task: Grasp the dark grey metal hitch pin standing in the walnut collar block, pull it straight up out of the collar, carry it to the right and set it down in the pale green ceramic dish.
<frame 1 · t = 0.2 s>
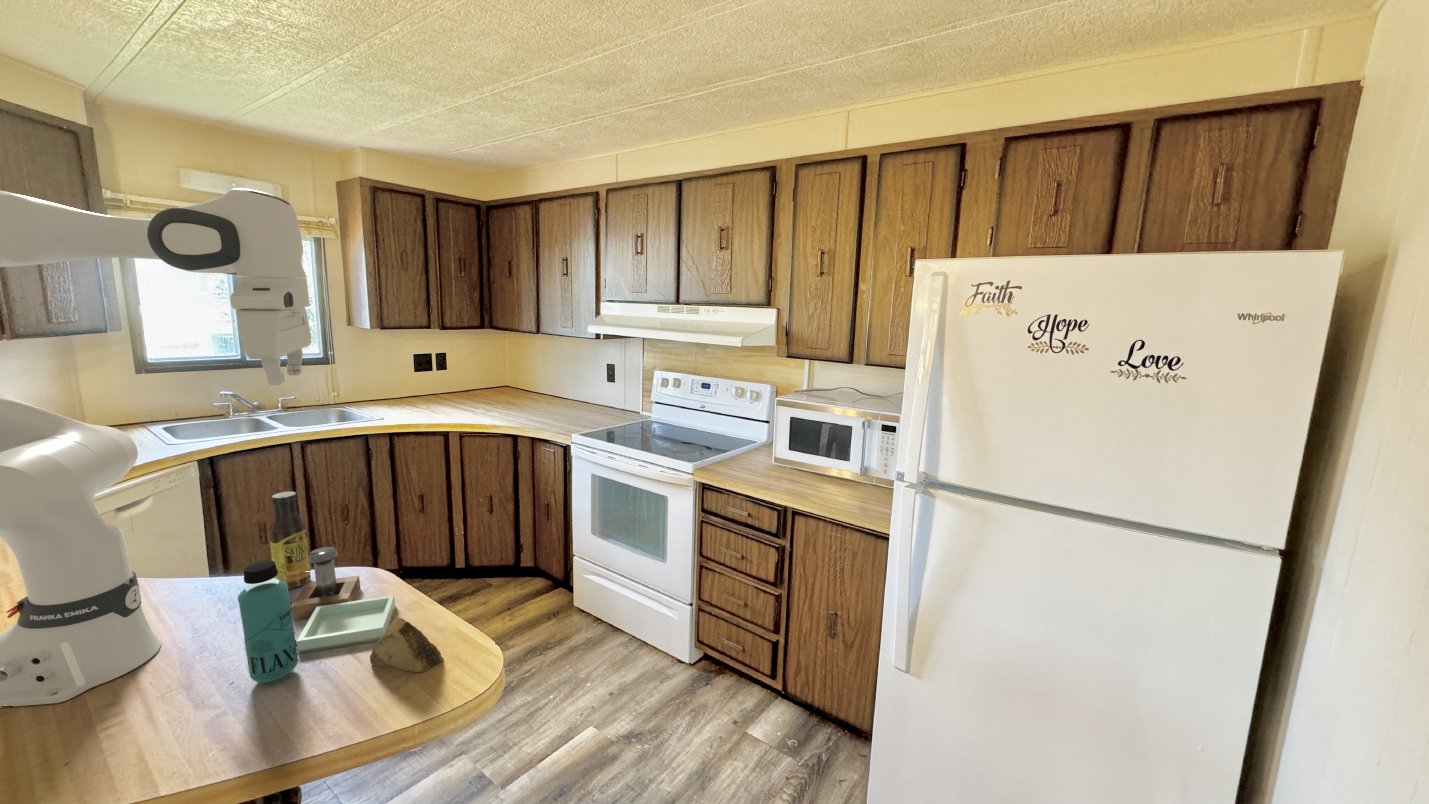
hand: (286, 379, 93), 47 cm above the worktop, fingers open, 8 cm apart
dish: (350, 628, 103), on the worktop
pin: (325, 578, 109), in the collar
collar: (329, 603, 110), on the worktop
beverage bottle: (276, 678, 90), on the worktop
sauce bottle: (294, 583, 117), on the worktop
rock: (405, 664, 94), on the worktop
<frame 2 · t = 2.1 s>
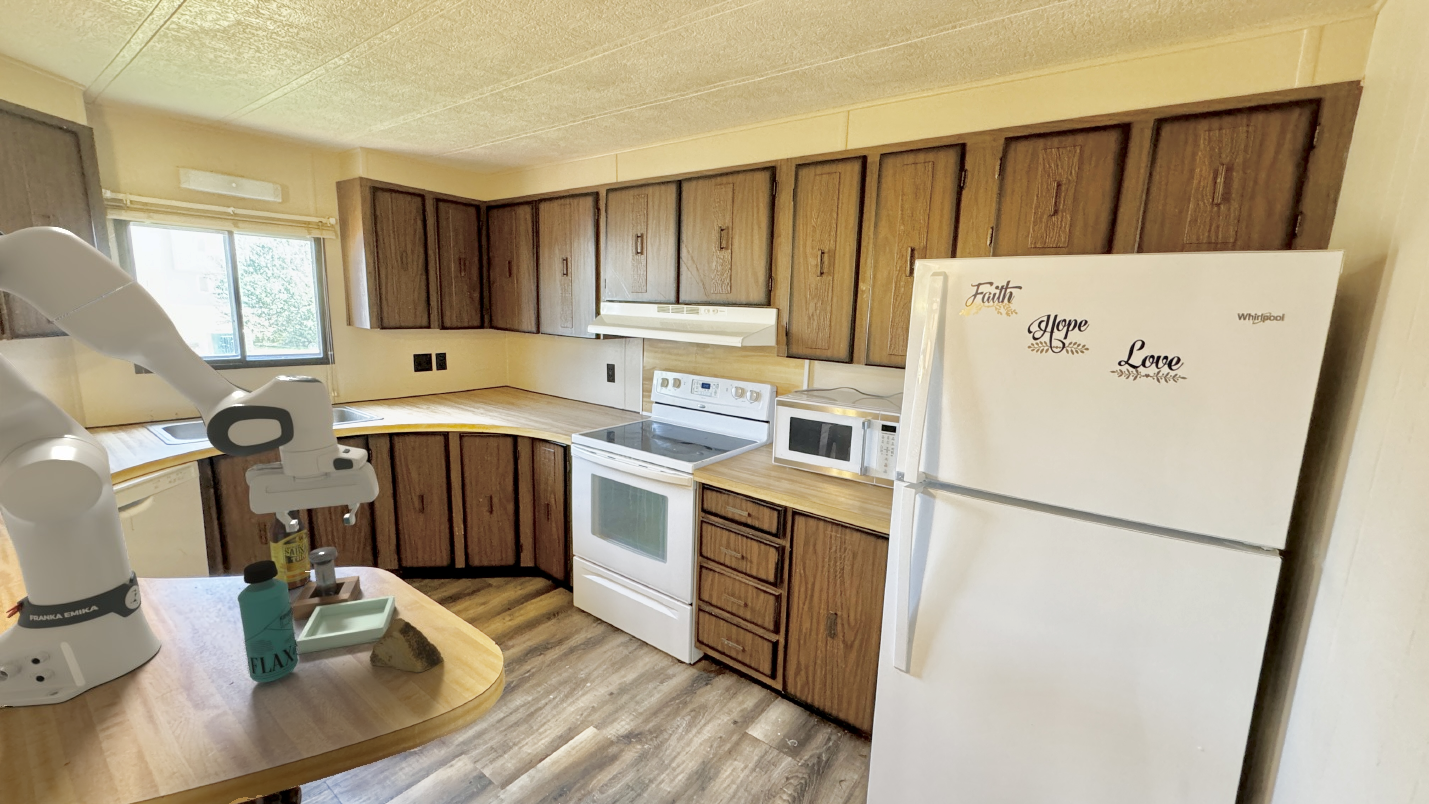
hand: (322, 527, 107), 16 cm above the worktop, fingers open, 8 cm apart
nothing on the worktop moved.
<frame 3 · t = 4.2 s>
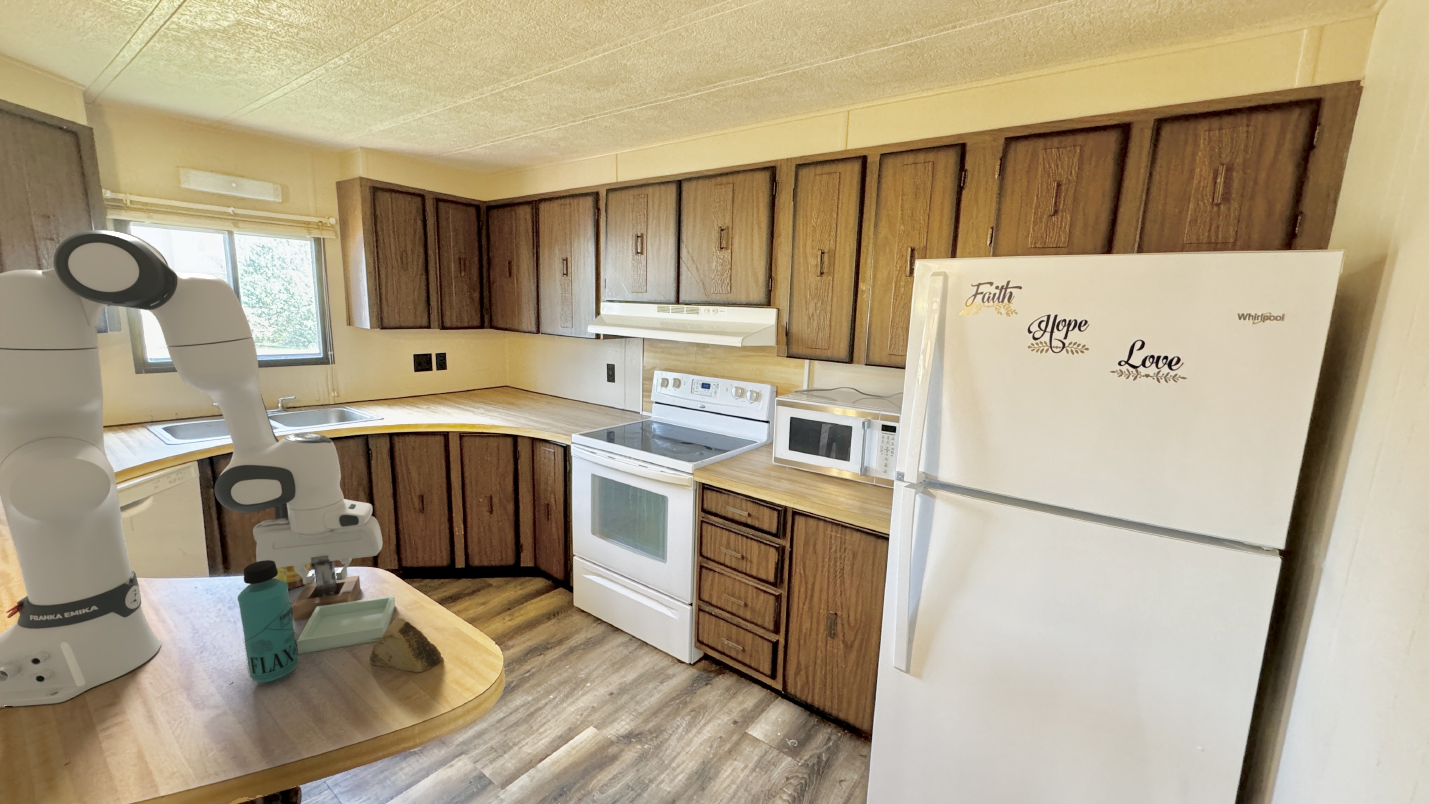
hand: (326, 580, 109), 5 cm above the worktop, fingers closed on pin, 4 cm apart
pin: (325, 578, 109), in the collar, touching gripper
everything else where it was.
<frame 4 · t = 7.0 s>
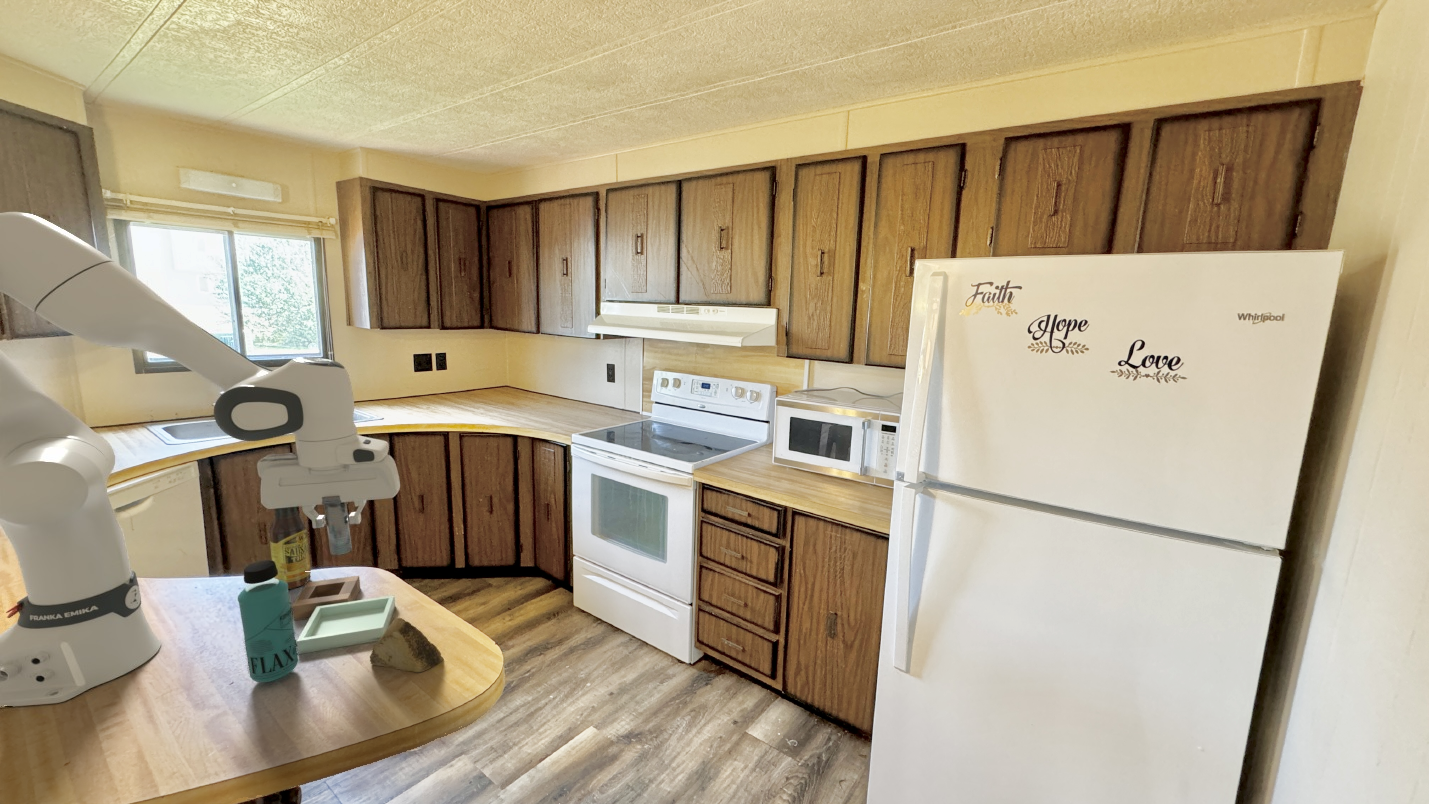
hand: (337, 524, 98), 21 cm above the worktop, fingers closed on pin, 4 cm apart
pin: (337, 521, 98), point 21 cm above the worktop, touching gripper
everything else where it was.
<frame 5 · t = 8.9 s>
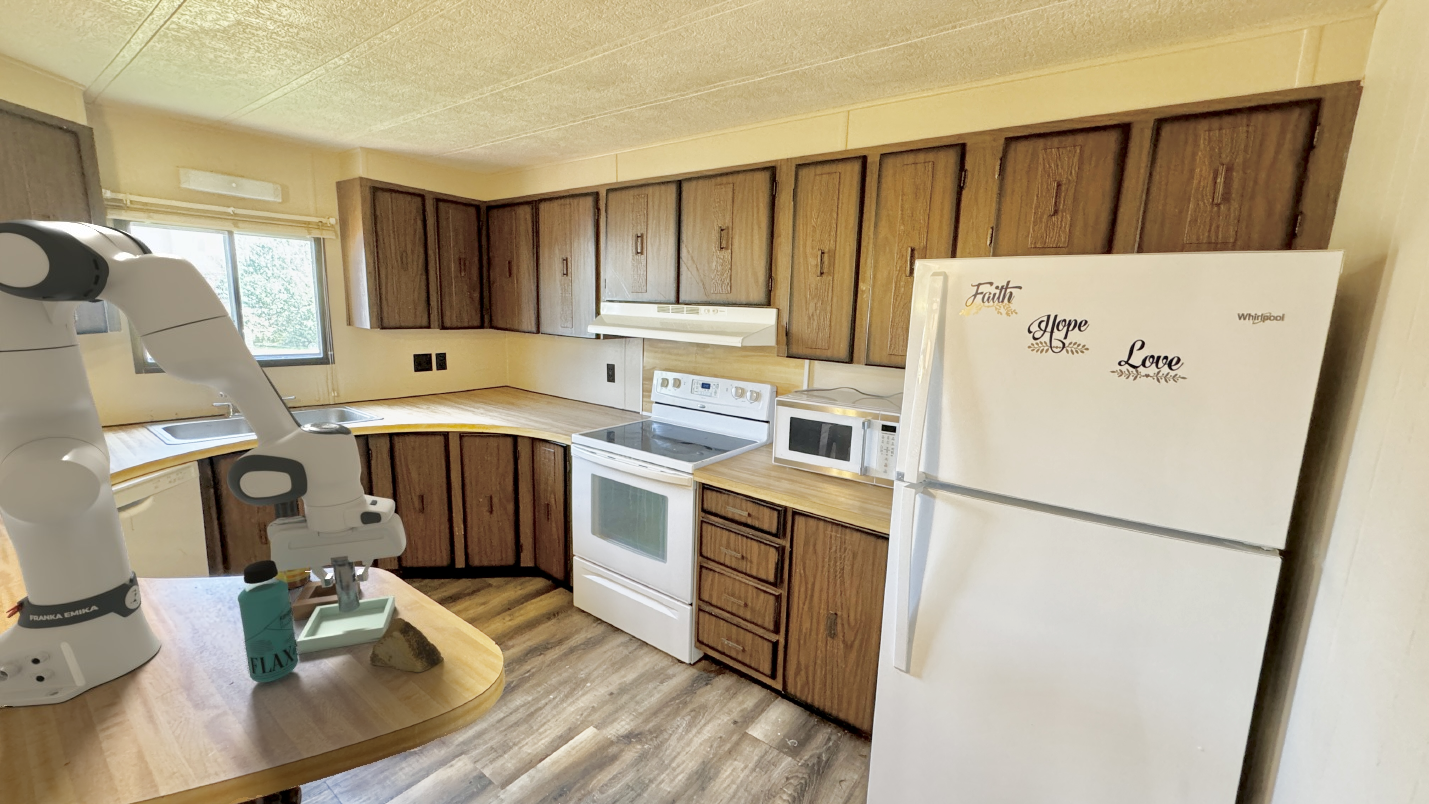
hand: (346, 582, 101), 9 cm above the worktop, fingers closed on pin, 4 cm apart
pin: (345, 580, 101), point 10 cm above the worktop, touching gripper
everything else where it was.
when the fingers open (7 cm above the worktop, at t = 10.1 s): pin drops 1 cm, resting on dish.
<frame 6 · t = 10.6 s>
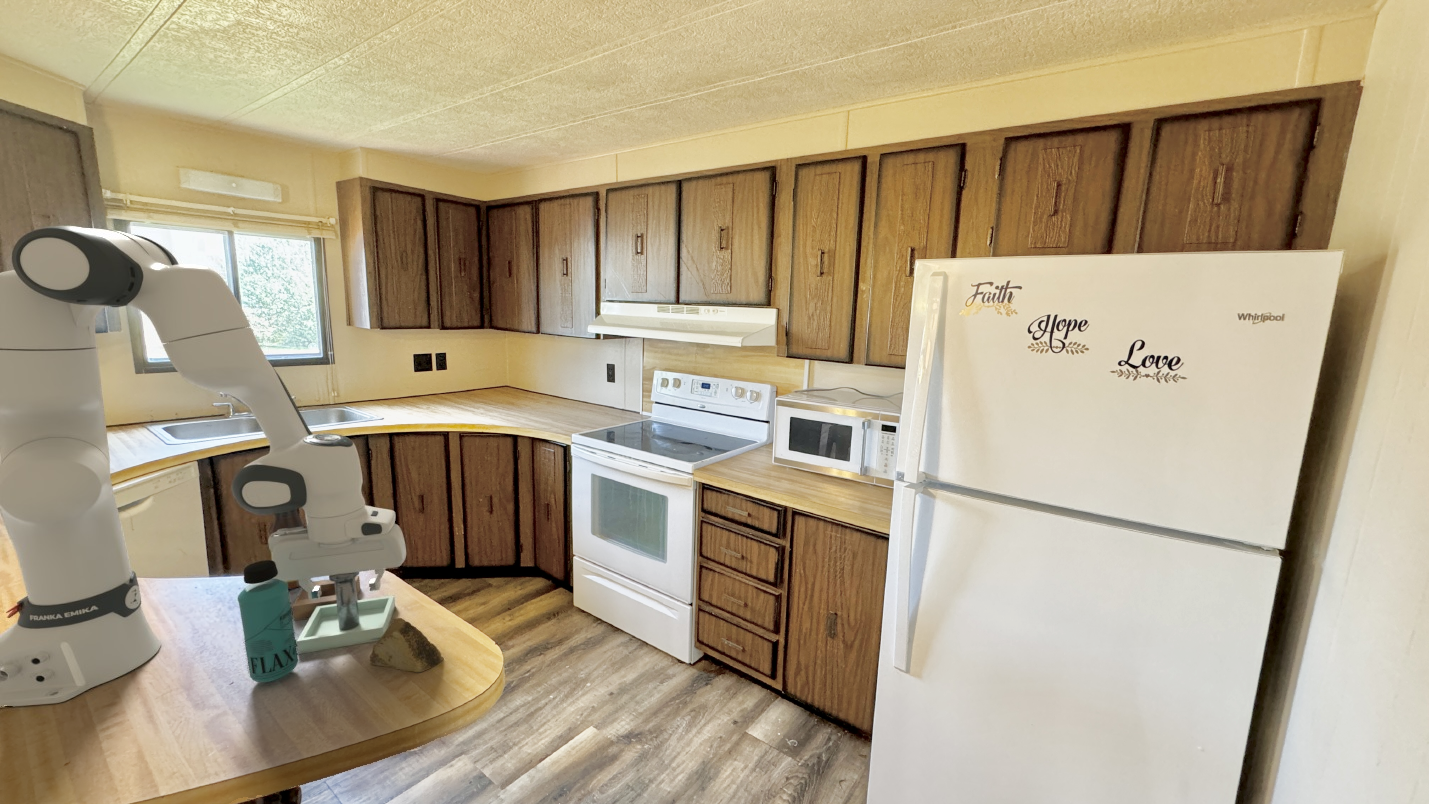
hand: (345, 593, 101), 7 cm above the worktop, fingers open, 8 cm apart
pin: (346, 597, 102), in the dish, point 6 cm above the worktop
everything else where it was.
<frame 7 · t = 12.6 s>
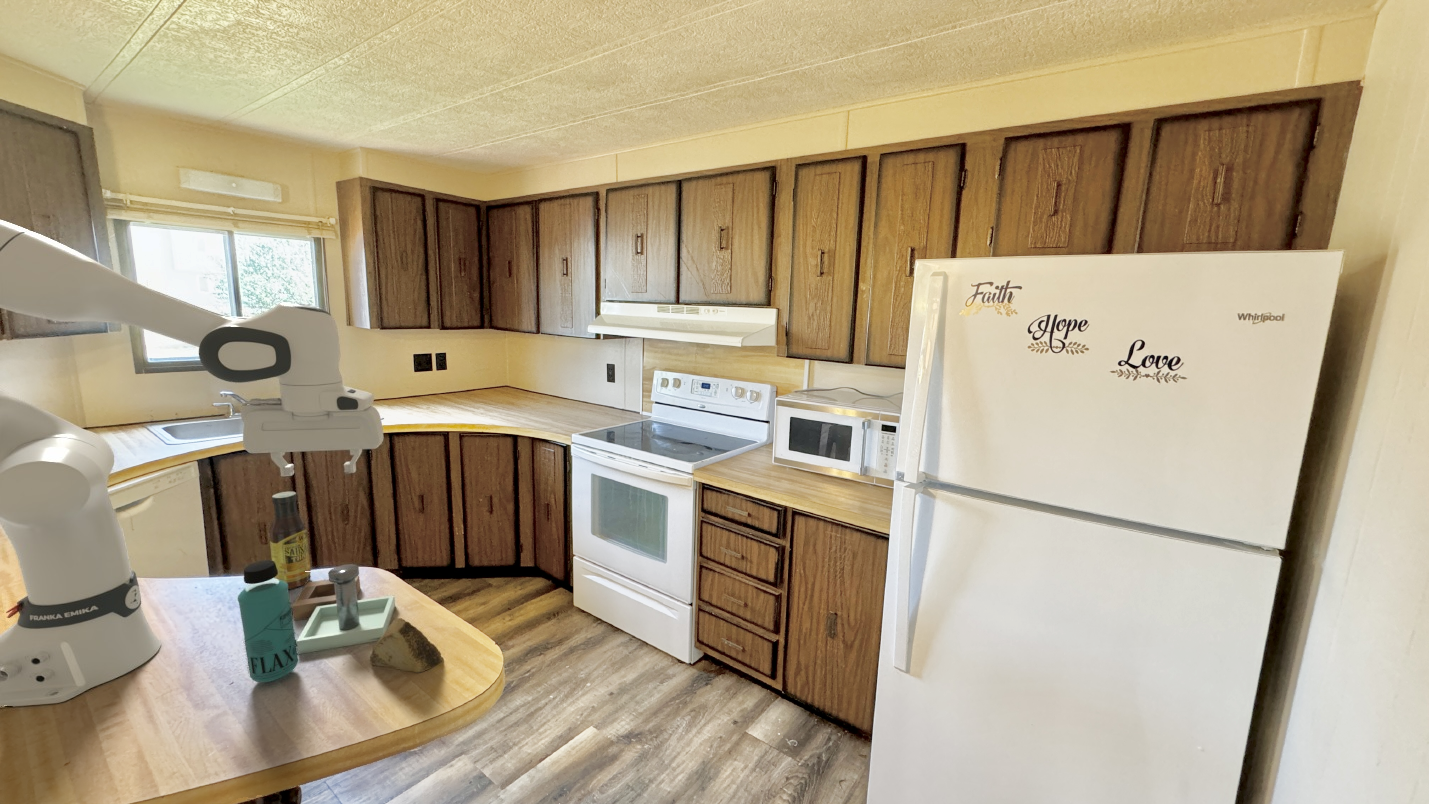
hand: (319, 473, 98), 30 cm above the worktop, fingers open, 8 cm apart
nothing on the worktop moved.
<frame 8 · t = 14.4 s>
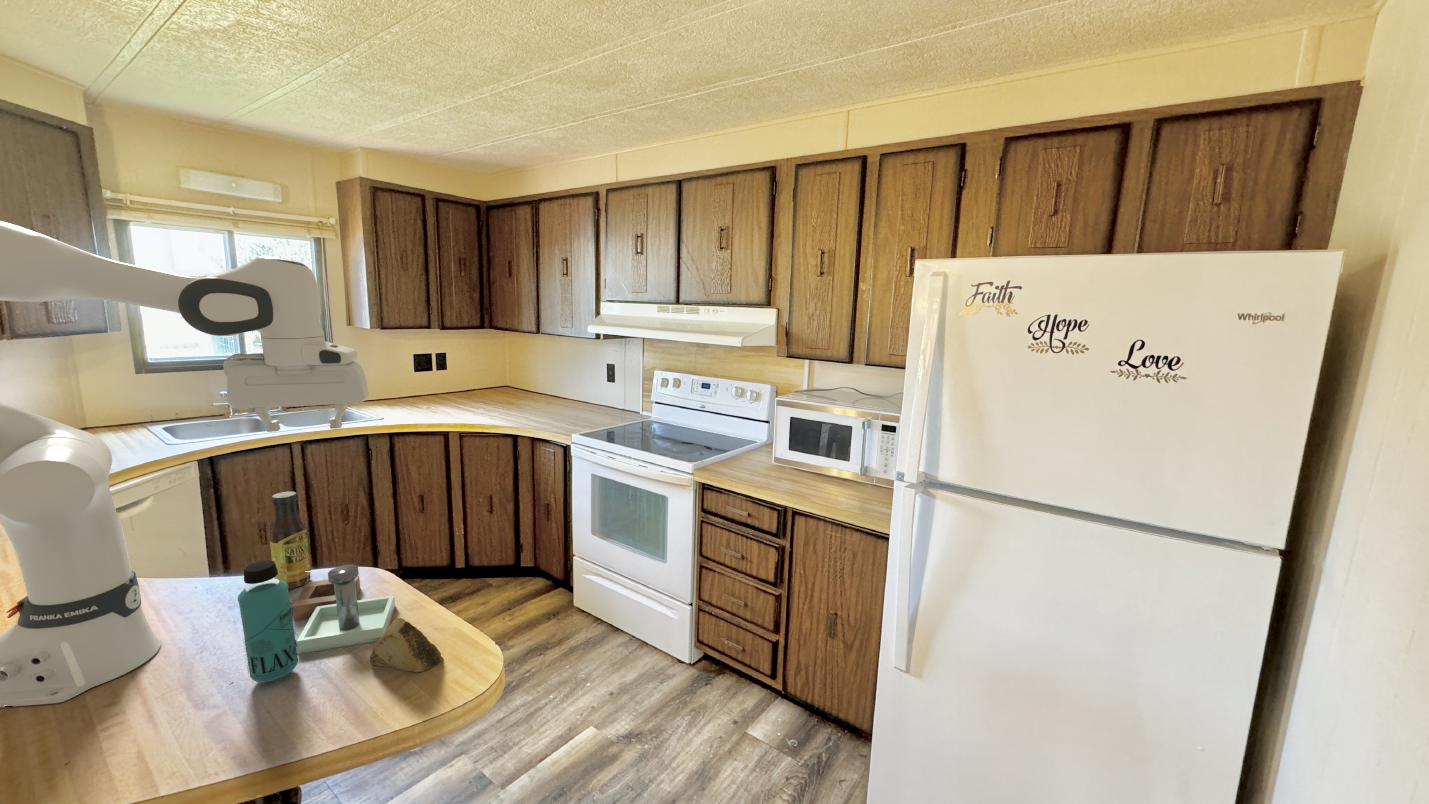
hand: (305, 429, 99), 37 cm above the worktop, fingers open, 8 cm apart
nothing on the worktop moved.
at the end: pin inside the target area on the dish (0.1 cm from its centre), point 6.2 cm above the dish's base; pin moved 11.9 cm from its start; the gripper is holding nothing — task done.
